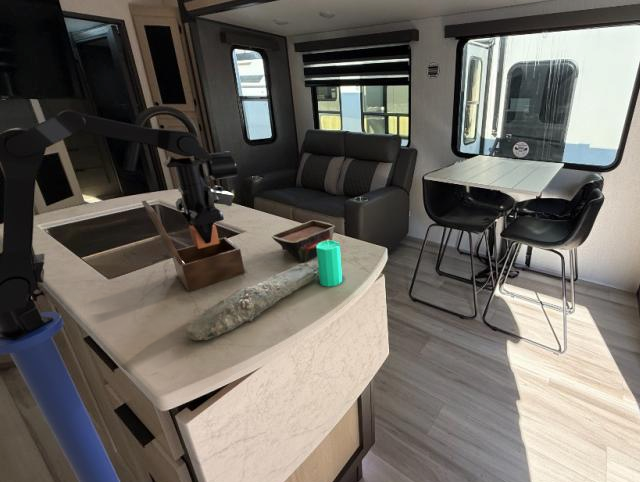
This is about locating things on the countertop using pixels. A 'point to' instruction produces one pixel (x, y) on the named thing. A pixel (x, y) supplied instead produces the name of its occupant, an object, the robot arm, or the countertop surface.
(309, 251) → the baking dish
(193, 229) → the block
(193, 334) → the elongated rock
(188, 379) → the countertop surface
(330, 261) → the candle
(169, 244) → the chest lid
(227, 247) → the chest
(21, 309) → the robot arm
